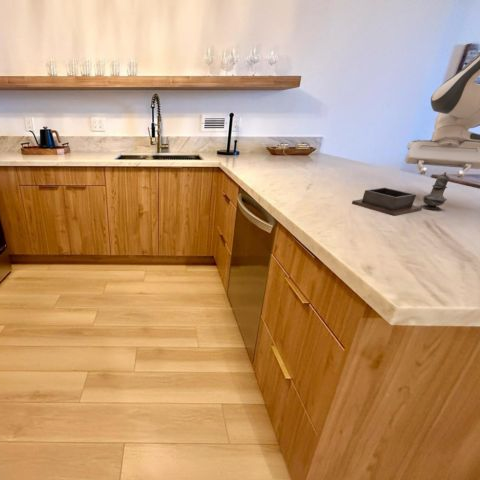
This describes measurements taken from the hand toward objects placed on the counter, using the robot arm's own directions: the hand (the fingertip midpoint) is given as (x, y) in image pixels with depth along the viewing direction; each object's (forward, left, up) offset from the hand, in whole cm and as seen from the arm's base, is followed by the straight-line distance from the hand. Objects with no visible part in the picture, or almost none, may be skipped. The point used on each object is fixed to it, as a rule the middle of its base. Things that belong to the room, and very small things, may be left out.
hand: (440, 175), depth 95 cm
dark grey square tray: (+5, +16, -10) cm, 19 cm away
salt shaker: (-2, +3, -11) cm, 11 cm away
